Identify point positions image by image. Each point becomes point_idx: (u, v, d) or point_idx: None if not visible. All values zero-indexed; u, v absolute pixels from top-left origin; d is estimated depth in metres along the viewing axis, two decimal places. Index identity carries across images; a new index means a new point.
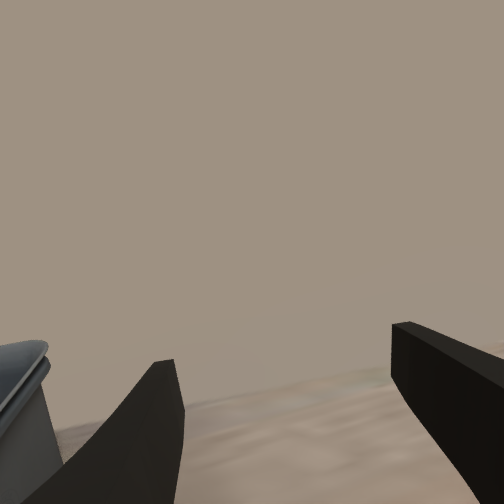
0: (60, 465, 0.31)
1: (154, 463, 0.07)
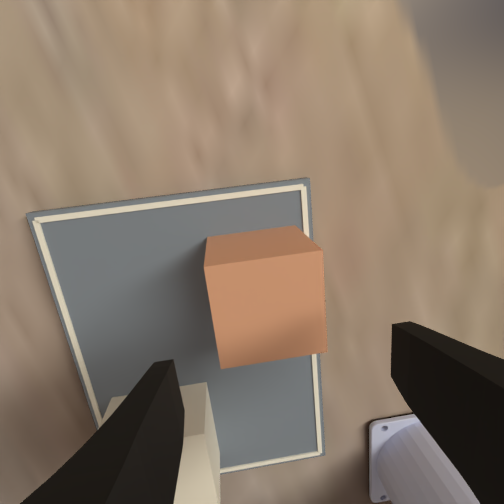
0: None
1: (154, 463, 0.07)
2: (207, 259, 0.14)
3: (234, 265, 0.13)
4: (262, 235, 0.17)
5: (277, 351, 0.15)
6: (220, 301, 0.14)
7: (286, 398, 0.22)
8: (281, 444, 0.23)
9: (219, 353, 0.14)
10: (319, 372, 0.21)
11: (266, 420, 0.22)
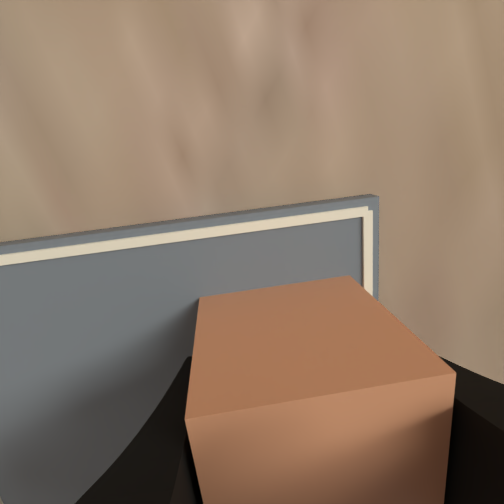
0: None
1: None
2: (195, 382, 0.06)
3: (255, 412, 0.06)
4: (298, 301, 0.09)
5: None
6: (223, 482, 0.06)
7: None
8: None
9: None
10: None
11: None
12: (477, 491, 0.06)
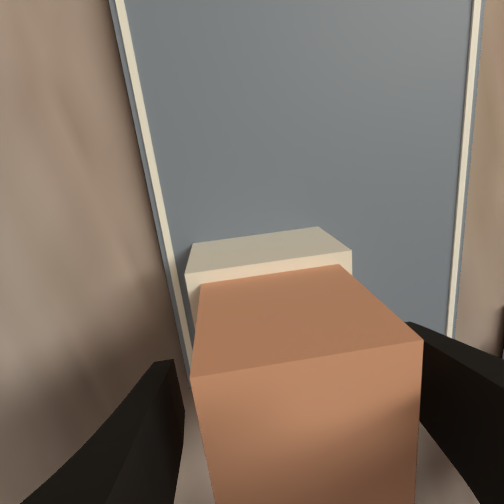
0: None
1: (154, 463, 0.07)
2: (198, 350, 0.07)
3: (251, 373, 0.07)
4: (291, 286, 0.10)
5: None
6: (222, 436, 0.07)
7: (416, 258, 0.16)
8: None
9: None
10: (463, 220, 0.16)
11: (387, 289, 0.17)
12: None
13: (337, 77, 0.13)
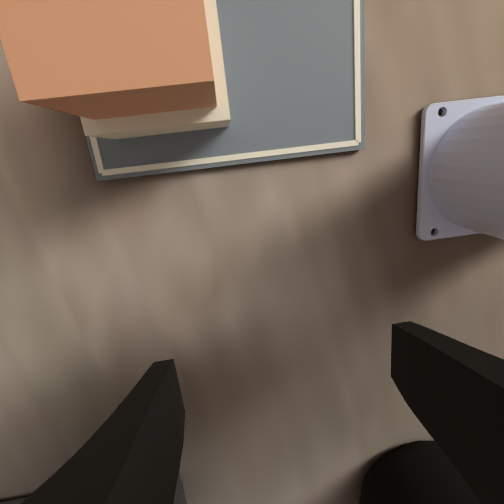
0: None
1: (154, 463, 0.07)
2: None
3: None
4: None
5: (120, 70, 0.08)
6: None
7: (317, 39, 0.16)
8: (308, 122, 0.18)
9: (11, 64, 0.08)
10: None
11: (290, 76, 0.17)
12: None
13: None
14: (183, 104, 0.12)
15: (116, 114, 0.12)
